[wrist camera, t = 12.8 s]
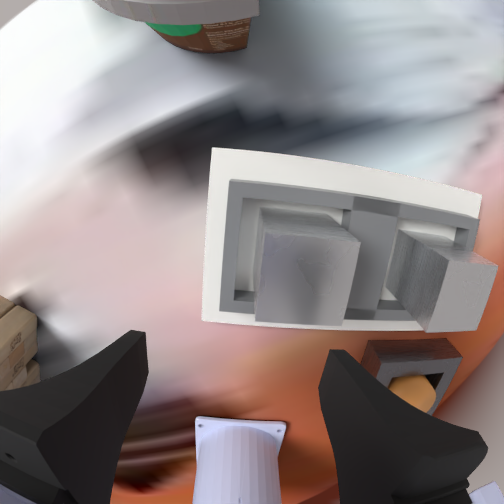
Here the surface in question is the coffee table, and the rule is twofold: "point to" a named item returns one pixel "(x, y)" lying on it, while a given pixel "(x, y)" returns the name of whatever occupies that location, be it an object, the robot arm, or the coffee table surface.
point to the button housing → (413, 362)
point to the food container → (192, 21)
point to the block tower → (17, 346)
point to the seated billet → (439, 281)
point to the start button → (414, 391)
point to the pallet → (338, 208)
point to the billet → (302, 268)
